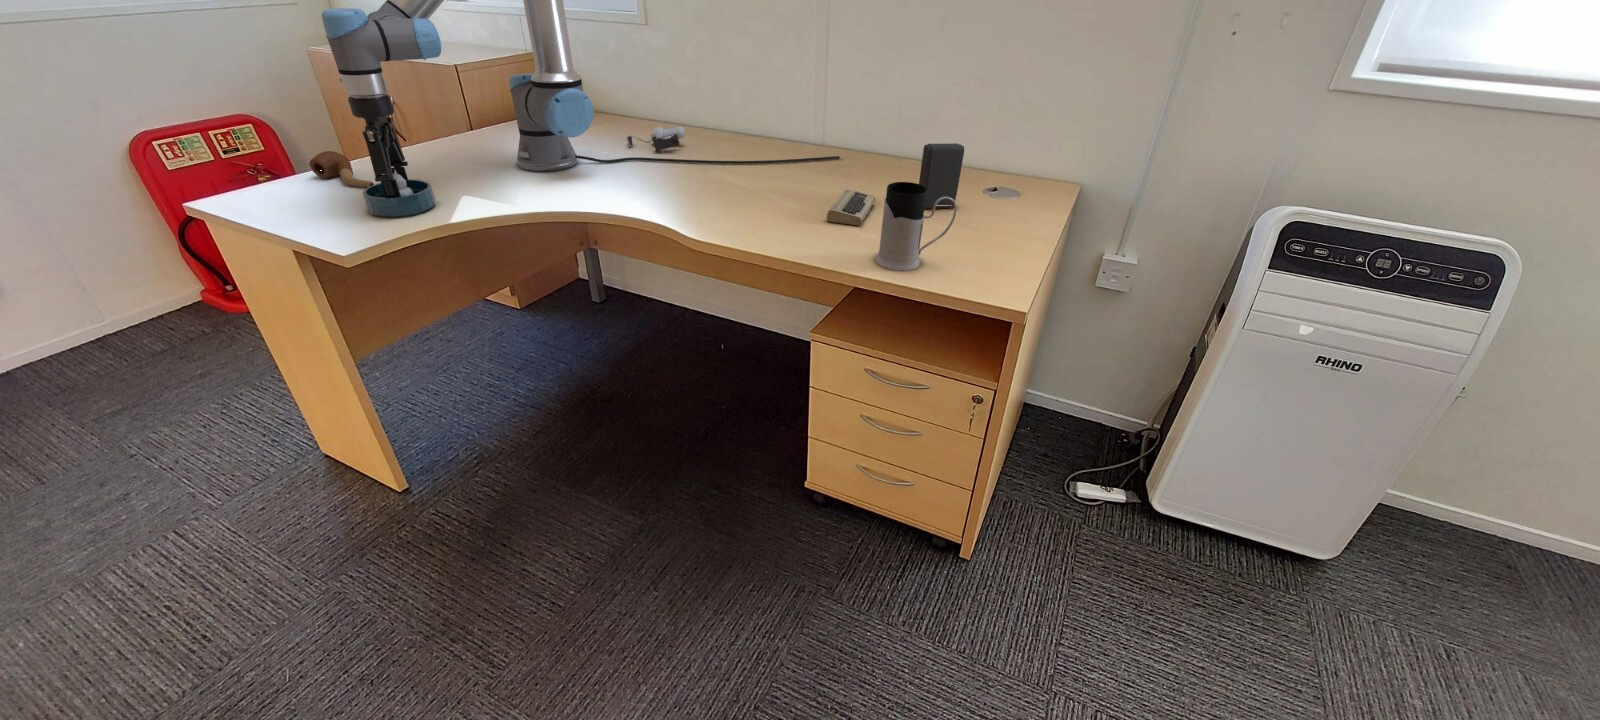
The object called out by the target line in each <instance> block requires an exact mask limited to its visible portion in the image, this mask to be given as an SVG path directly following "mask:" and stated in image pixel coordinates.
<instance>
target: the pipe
mask: <svg viewBox="0 0 1600 720" xmlns="http://www.w3.org/2000/svg"><path fill="white" fill-rule="evenodd" d="M308 163H309V164H308V165H309V168H310V169H311V171H312V172H313V174H315V175H316V176H318V177H319V178H321V179H329V178H333V177H337V176H340V177H341V180H342V181H343V182H344V184H345V183H346V184H347V185H352V186H357V187H364V188H368V187H370V186H372V185H375V184H374V182H373V181H371V180H366V179H365V180H364V179H359V178H355V177H353V175H354V171H353V168H352V163H351V162H350V159H349V158H348V157H347V156H345V155H344V154H342V153H340V152H337V151H333V150H332V151H331V150H327V151H326V150H325V151H322V152H320V153H317V154H316V155H315V156H313V157H312V158H311V159H310V160H309V162H308ZM320 170H322V171H320Z"/></svg>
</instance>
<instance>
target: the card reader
mask: <svg viewBox="0 0 1600 720" xmlns="http://www.w3.org/2000/svg"><path fill="white" fill-rule="evenodd" d="M964 156H965V146H964V145H962V144H959V143H956V142H955V143H927V144H924V146H923V151H922V159H921V165H920V173H919V181H918V184H920V185H922V186H924V187H926V188H927V194H926V201H925V208H924V210H933V206H934V204H935V202H936V201H937V200H938V199H939V198H941V197H950V198H952V199H953V200H954V201H955V202H956V199H957V194H958V189H959V185H960V184H959V182H960V178H961V173H962V168H963V167H962V166H963V161H964ZM937 205H952V206H936V207H935V210H937V209H938V210H941V209H943V210H944V209H952V208H955V205H954V203H953V202H952V201H951V200H949V199H943V200H941V201H939V202H938V203H937Z"/></svg>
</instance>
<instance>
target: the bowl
mask: <svg viewBox="0 0 1600 720" xmlns="http://www.w3.org/2000/svg"><path fill="white" fill-rule="evenodd" d="M408 181H409V184H410V188H411V190H412V191H413V194H412V195H408V196H402V197H393V198H386V196H385V193H384V190H383V187H382V184H381V182H379V183H375V184H374V185H372V186H370V187H365V188H364V190H363V191H362V196H363V198H364V201H365V204H366V206H367V209H368V212H369V213H370V214H372V215H375V216H379V217H384V218H403V217H410V216H415V215H419V214H422V213H425V212H427V211H429V210H430V209H431V208H432V207H434V206H435V205H436V202H437V200H436V197H435V194H434V190H433V186H432V184H431V183H430V182H428V181H426V180H421V179H409V178H408Z"/></svg>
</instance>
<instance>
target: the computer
mask: <svg viewBox="0 0 1600 720" xmlns="http://www.w3.org/2000/svg"><path fill="white" fill-rule="evenodd" d="M875 202H876V197H875V195H872V194H868V193H864V192H861V191H857V190H854V189H844V190H843V192H842V193H841V194H840V195H839V197H838V198H837V199H836V200H835V202H834V203H833V204H832V206H831V207H830V208H829V210H828V212H827V216H826V221H827V222H830V223H837V224H845V225H853V226H859V227H860V226H861V225H862V223H863V221H864V220H865V218H866V217H867V215H868V213H869V212H870V211H871V210H872V207H873V205H874V203H875Z"/></svg>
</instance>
